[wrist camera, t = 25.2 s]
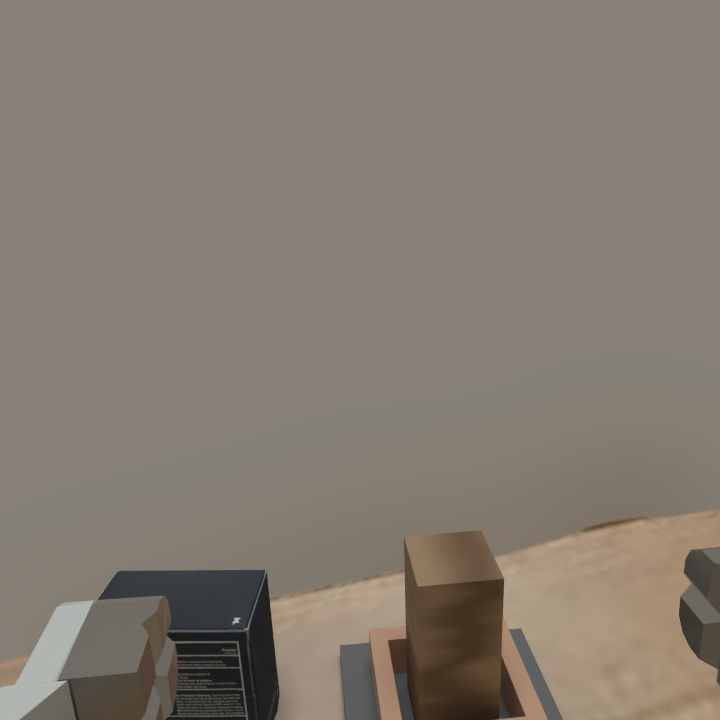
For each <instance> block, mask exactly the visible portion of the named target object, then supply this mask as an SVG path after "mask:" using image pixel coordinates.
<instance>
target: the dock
mask: <svg viewBox="0 0 720 720" xmlns="http://www.w3.org/2000/svg"><path fill="white" fill-rule="evenodd" d="M340 655H341V668H342V680H343V693H344V706H345V718H346V720H414V717H413V712H412V707H411V702H410V698H409V693H408V688H407V651H406V626H404V627H393V628H383V629H372V630H369V643H362V644H352V645H341V646H340ZM497 720H563V719H562V717H561V715H560V712H559V710H558V708H557V706H556V704H555V702H554V699H553V697H552V695H551V693H550V691H549V689H548V686H547V684H546V682H545V680H544V678H543V676H542V673H541V671H540V669H539V667H538V665H537V662H536V660H535V658H534V656H533V654H532V652H531V649H530V647H529V645H528V643H527V641H526V639H525V636H524V634H523V632H522V630H521V629H510V630H509V629H508V627H507V625H506V622H505V620H504V618H503V623H502V652H501V681H500V710H499V719H497Z"/></svg>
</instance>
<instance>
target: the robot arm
mask: <svg viewBox="0 0 720 720" xmlns="http://www.w3.org/2000/svg"><path fill="white" fill-rule="evenodd" d="M684 574H685V575H686V576H687V578H688V579H689V581H690V582H691V583H692V584H691V585H690V586H689V587H688V588H687V589H686V591H685V592H684V593H683V594H682V595H681V597H680V609H679V617H680V622H681V626H682V631H683V634H684V636H685V638H686V640H687V642H688V644H689V646H690V648H691V649H692V650H693V652H694V653H695V654H696V656H697V657H698V658H699V659H700V660H702V661H704V662H705V663H707V664H709V665H711V666H713V667H714V668H716V669H718V672H717V683H718V684H719V685H720V547H717V548H707V549H696V550H691V551H690V552H689V554H688V556H687V558H686V561H685V568H684ZM170 622H171V614H170V609H169V603H168V600H167V599H166V597H165V596H150V597H135V598H120V599H104V600H97V601H94V600H92V601H81V602H68V603H63V604H61V605H60V606H58V607H57V608H56V609H55V611H54V613H53V615H52V617H51V618H50V620H49V622H48V624H47V626H46V628H45V629H44V631H43V633H42V635H41V637H40V639H39V640H38V642H37V644H36V646H35V648H34V650H33V652H32V653H31V655H30V657H29V659H28V661H27V663H26V665H25V666H24V668H23V670H22V672H21V674H20V676H19V677H18V679H17V681H16V683H15V685H13V686H4V687H2V688H1V689H0V720H165V719H166V718H167V717H168V716H169V715H170V714H171V713H172V712H173V708H174V703H175V699H176V693H177V680H178V663H177V652H176V645H175V643H174V642H173V641H172V640H171V639H170V638H169V637H168V636H167V633H168V630H169V626H170Z"/></svg>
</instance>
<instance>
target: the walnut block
mask: <svg viewBox="0 0 720 720" xmlns="http://www.w3.org/2000/svg"><path fill="white" fill-rule="evenodd" d="M404 555H405V603H406V651H407V688H408V693H409V698H410V702H411V707H412V712H413V717H414V720H497V719H499V710H500V681H501V652H502V623H503V594H504V578H503V576H502V574H501V571H500V569H499V567H498V565H497V563H496V561H495V559H494V557H493V555H492V553H491V551H490V548H489V546H488V544H487V542H486V540H485V538H484V536H483V534H482V532H481V531H470V532H459V533H448V534H447V533H446V534H435V535H423V536H411V537H404Z"/></svg>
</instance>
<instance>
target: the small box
mask: <svg viewBox="0 0 720 720" xmlns="http://www.w3.org/2000/svg"><path fill="white" fill-rule="evenodd" d="M150 596H165V597H166V599H167V600H168V603H169V609H170V614H171V622H170V626H169V630H168V633H167V636H168V637H169V638H170V639H171V640H172V641H173V642H174V643H175V645H176V652H177V663H178V680H177V693H176V699H175V703H174V708H173V712H172V713H171V714H170V715H169V716H168V717H167V718H166V719H165V720H274V717H275V713H276V712H277V707H278V698H279V686H278V676H277V668H276V658H275V647H274V639H273V629H272V619H271V611H270V599H269V590H268V581H267V571H266V570H213V571H212V570H201V571H200V570H198V571H119V572H117V574H116V575H115V576H114V577H113V579H112V580H111V582H110V583H109V584H108V586H107V587H106V589H105V590H104V592H103V593H102V595H101V596H100V598H99V599H98V600H104V599H120V598H135V597H150Z"/></svg>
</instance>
